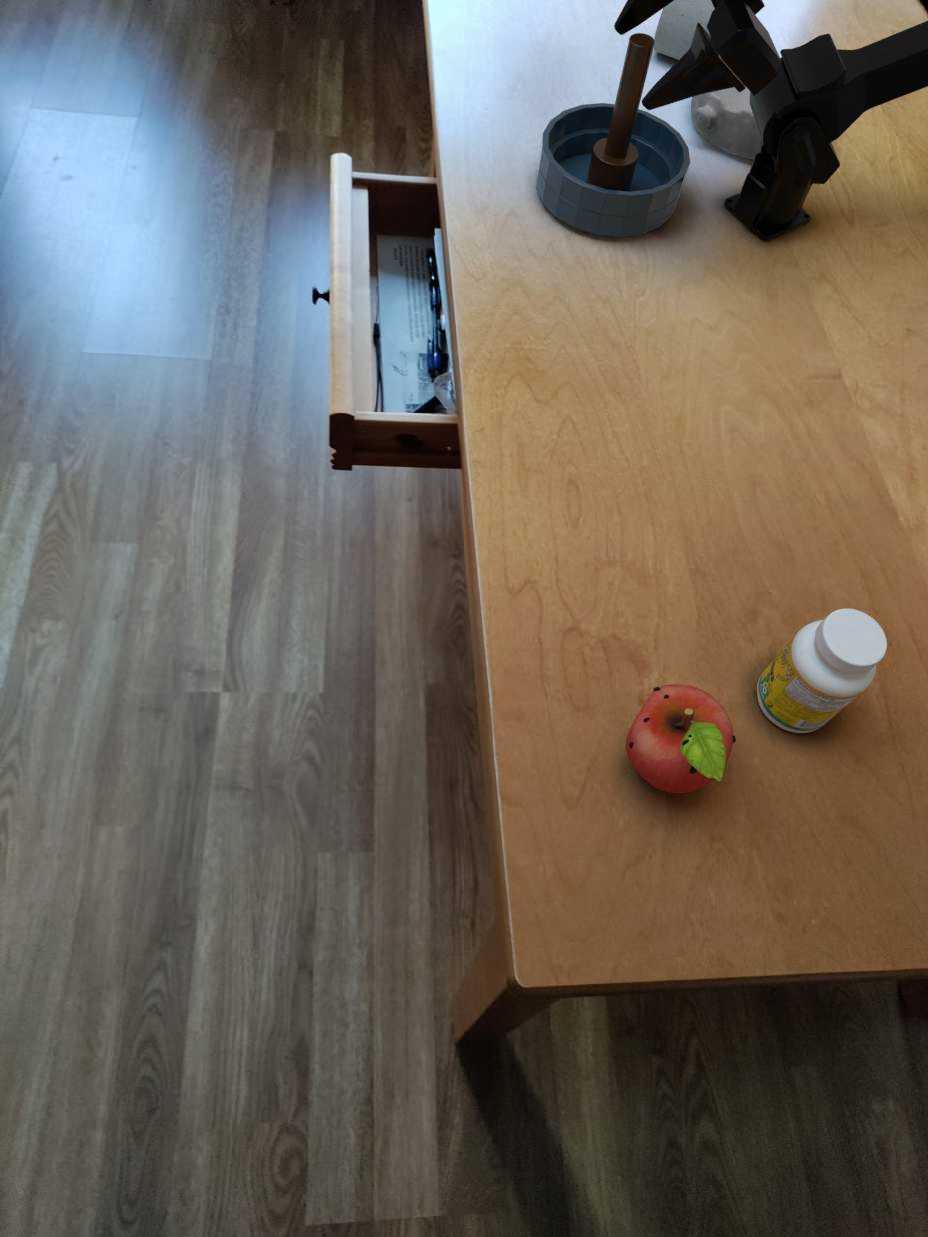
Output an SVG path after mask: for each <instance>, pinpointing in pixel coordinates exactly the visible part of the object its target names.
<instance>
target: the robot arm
mask: <svg viewBox="0 0 928 1237" xmlns="http://www.w3.org/2000/svg"><path fill="white" fill-rule="evenodd" d="M673 1H674V0H626V2H625V4H624V6H623V8H622V9H621V11H620V13H619V15H618V17H617V18H616V20H615V22H614V24H613V28H614V30H615V31H616V32H617V33H618V34H619V35H620V36H623V35H625V34H627V33H628V32H631V31H632V30H634V29H635V28H637V27H638V26H640V25H642V24H643V23H644V22H645V21H647V20H649V19H650V18H651V17H653V16H654V15H656V14H657V13H659V12H660V11H662V10H663V8H664V7H666V6H667V5H668V4H670V3H671V2H673ZM711 1H712V4H713V6H714V8H715V9H714V10H713V11H712V14H711V16H710V19H709V22H708V24H707V29H708V31H709V34H710V35H709V34H708V32H707V31H706V30H705V29H704V28H703V27H702V25H701V24H700V23H699V22H698V24H697V26H696V29H695V33H694V36H693V40H692V43H691V47H690V49H689V50H688V51H687V52H686V53H685V54H684V55H683V56H682V57H681V58H680V59H679V60H677V61H676V62H675V63H674V64H673V65H672V66H671V67H670V69H669V70H667V71H666V72H665V74H664V75H662V77H661V78H660V79H659V80H657V82H655V84H653V86H652V87H651V88H650V89H649V91H648V92H647V93H646V94H645V95H644V96H643V98H641V105H642V107H644V109H645V110H647V111H651V110H655V109H659V108H661V107H662V108H663V107H664V106H668V105H671V104H674V103H677V102H680V101H684V100H687V99H690V98H692V97H694V96H697V95H701V94H705V93H709V92H714V91H719V90H724V89H728V88H733V87H735V89H736V90H737V91H738V92H742V91H743V90H744V89H746V87H747V88H748V89H749V91H750V106H751V109H752V112H753V115H754V118H755V121H756V124H757V127H758V130H759V132H760V135H761V138H762V141H763V145H762V147H761V150H760V152H759V153H758V154H756V156H755V158H754V160H753V161H752V164H751V165H750V169H749V171H748V173H747V174H746V176H745V178H744V180H743V184H742V186H741V189H740V191H739V193H736V194H734V195H731V196H728V197H726V198H725V199H724V201H723V206H724V207H725V209H727V210H728V211H729V212H730V213H732V214H733V215H734V216H735V217H736V218H737V219H739V220H740V221H741V222H742V223H743V224H744V225H745V226H746V227H747V228H749V229H750V230H751V231H752V232H753V233H754V234H755V235H757V237H759V238H760V239H761V240H763V241H769V240H772V239H774V238H776V237H779V236H781V235H783V234H785V233H788V232H790V231H792V230H795V229H797V228H800V227H802V226H804V225H807V224H810V221H811V220H812V215H811V214H810V213H808V212H807V211H806V210H805V209H803V205H804V203H805V202H806V199H807V196H808V194H809V192H810V191H811V188H812V186H813V185H825V184H826V183H827V182H828V181H829V180H830V179H831V177H833V175H834V174H835V173H836V171H837V170H838V169H839V168H840V166H841V163H840V160H839V157H838V155H837V152H836V149H835V147H834V145H833V142H834V141H836V140H838V139H839V138H840V137H841V136H842V135H843V134H844V133H846V131H847V130H848V129H849V128H850V127H851V126H852V125H853V124H854V123H855V122H856V121H857V120H858V119H859V118H860V117H861V116H862V115H863V114H864V113H866V112H867V111H869V110H871V109H874V108H876V107H879V106H881V105H884V104H886V103H889V102H892V101H895V100H897V99H899V98H902V97H905V96H907V95H910V94H912V93H915V92H918V91H920V90H923V89H925V88H927V87H928V20H926V21H923V22H921V23H918V24H915V25H913V26H911V27H909V28H906V29H904V30H901V31H899V32H896V33H894V34H892V35H888V36H887V37H884V38H881V39H879V40H876V41H874V42H872V43H870V44H867V45H865V46H862V47H859V48H856V49H841V48H840V49H839V48H837V46H836V44H835V42H834V40H833V38H832V35H831V34H830V33H825V34H821V35H818V36H816V37H814V38H813V39H810V40H809V41H808V42H806V43H803V44H802V45H800V46H796V47H793V48H783V49H781V50H780V52H778V50H777V48H776V45H775V43H774V41H773V39H772V37H771V35H770V32H769V30H767V28H766V27H765V25H764V24H763V22H761V20H760V19H759V18H758V16H757V14H758V13H759V12H760V11H761V10H762V9H764V8H765V6H766V5H765V3H764V0H711ZM779 53H780V54H779ZM780 56H781V57H780ZM745 86H746V87H745Z"/></svg>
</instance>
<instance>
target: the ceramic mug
mask: <svg viewBox="0 0 928 1237" xmlns="http://www.w3.org/2000/svg"><path fill="white" fill-rule="evenodd" d="M714 9H715V8H714V6H713V4H712V1H711V0H674V1H673V2H671V3H670V4H668V5H667V6H666V7H664V8H663V9H661V13H660V16H659V19H658V23H657V26H656V29H655V34H654V37H653V39H654V41H655V44H654V48H653V51H655V52H656V53H659V54H661V55H663V56H666V57H669V58H672V59H674V60H677V61H678V60H679V59H680V58H681V57H682V56H683V55H684V54H685V53H686V52H687V51H688V50H689V49H690V47H691V43H692V40H693V36H694V33H695V29H696V26H697V24H698V22H699V23H700V24H701V25H702V27H703V28H704V29H705V30H706V31H707V32H708V34H709V31H708V29H707V24H708V22H709V19H710V16H711V14H712V11H713V10H714ZM709 35H710V34H709Z"/></svg>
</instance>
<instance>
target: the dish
mask: <svg viewBox="0 0 928 1237" xmlns="http://www.w3.org/2000/svg"><path fill="white" fill-rule="evenodd" d="M745 87H746V86H745ZM690 115H691V119H692V122H693V125H694V127H695V129H696V130H697V132H698V133H699V134H700V136H701V137H702V138H703V139H704V140H706V141H707V143H709V144H711V145H712V146H714V147H716V148H718V149H720V150H722V151H724V152H726V153H729V154H731V155H735V156H738V157H741V158H745V159H749V160H753V161H754V158H755V156H756V154H758V153H759V152H760V150H761V147H762V145H763V141H762V138H761V135H760V132H759V130H758V127H757V124H756V121H755V118H754V115H753V112H752V109H751V106H750V91H749V89H748V88H747V87H746V89H744V90H743V91H742V92H738V91H737V90H736V89H735V87H733V88H728V89H724V90H719V91H714V92H709V93H705V94H701V95H697V96H694V97H691V101H690Z"/></svg>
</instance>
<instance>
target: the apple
mask: <svg viewBox="0 0 928 1237" xmlns="http://www.w3.org/2000/svg"><path fill="white" fill-rule="evenodd" d="M652 690H653V691H652V692H651V693H650V694H649V696H648V698H647V700H646V701H645V702H644V704H643V705H642V707H641V709H640V711H639V712H638V714H637V715H636V716H635V719H634V720H633V722H632V724H631V726H630V728H629V731H628V733H627V735H626V739H625V751H626V756H627V758H628V760H629V762H630V764H631V766H632V767H633V769H634V770H635V771H636V772H637V774H639V776H641V778H642V779H643V780H644V781H646V782H647V783H648V784H650V785H651V786H652V787H654V788H656V789H658V790H659V791H660V790H661V791H663V792H667V793H673V794H684V793H685V794H686V793H691V792H692V793H693V792H695V791H697V790H700V789H703V788H704V787H707V786H708V785H710V784H712V782H713V781H715V780H716V781H718V782H721V781H722V780H723V776H724V772H725V767H726V765H727V764H728V762H729V759H730V757H731V753H732V750H733V745H734V743H735V742H737V739H736V738H737V737H736V735H734V729H733V723H732V720H731V717H730V715H729V713H728V711H727V710H726V708H725V707H724V706H723V704H721V702H720V701H719V699H717V698H716V697H714V696H713V695H712V694H711V693H709V692H707V691H705V690H703V689H701V688H698V687H696V686H691V685H688V684H687V685H686V684H680V683H679V684H675V683H674V684H673V683H672V684H670V683H669V684H663V685H661V686H656V687H654V688H653V689H652Z"/></svg>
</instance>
